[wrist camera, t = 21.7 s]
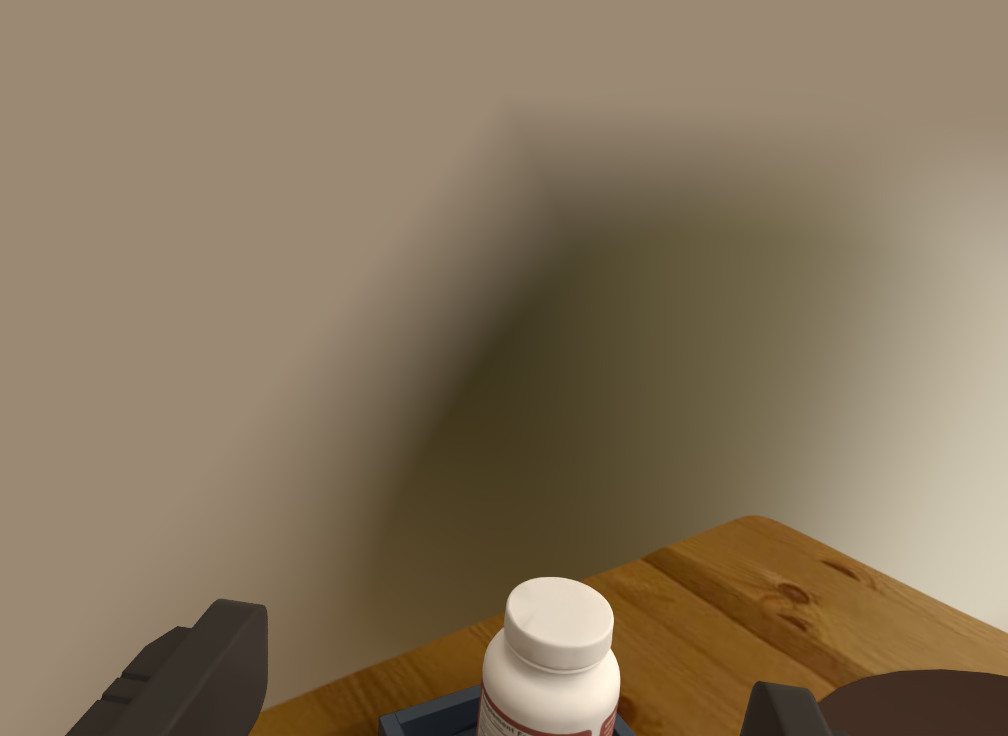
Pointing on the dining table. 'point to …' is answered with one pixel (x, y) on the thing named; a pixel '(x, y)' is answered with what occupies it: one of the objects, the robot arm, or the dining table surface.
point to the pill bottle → (551, 664)
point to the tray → (450, 717)
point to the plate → (921, 704)
